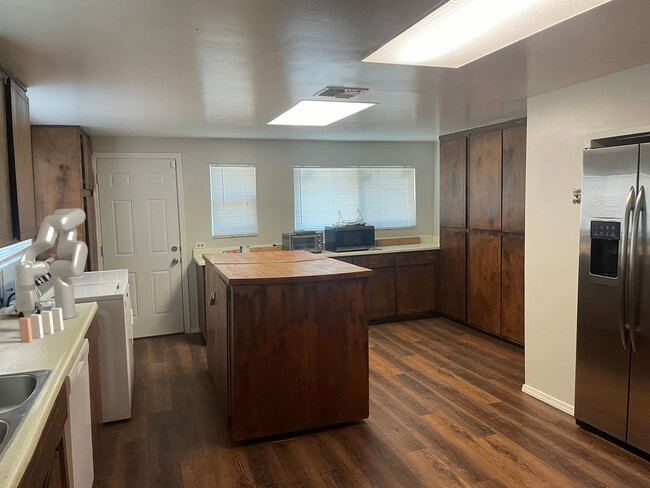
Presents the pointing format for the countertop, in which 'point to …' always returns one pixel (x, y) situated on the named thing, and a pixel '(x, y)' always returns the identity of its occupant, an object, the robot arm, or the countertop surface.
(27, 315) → the domino
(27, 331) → the domino
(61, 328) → the domino
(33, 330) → the domino
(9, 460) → the countertop surface
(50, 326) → the domino
